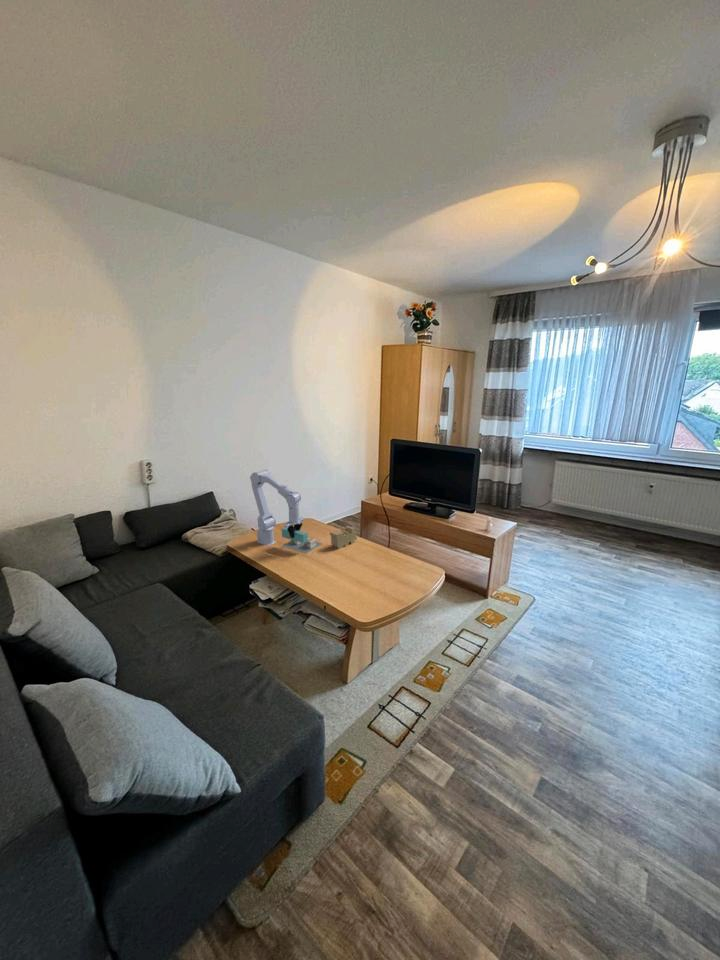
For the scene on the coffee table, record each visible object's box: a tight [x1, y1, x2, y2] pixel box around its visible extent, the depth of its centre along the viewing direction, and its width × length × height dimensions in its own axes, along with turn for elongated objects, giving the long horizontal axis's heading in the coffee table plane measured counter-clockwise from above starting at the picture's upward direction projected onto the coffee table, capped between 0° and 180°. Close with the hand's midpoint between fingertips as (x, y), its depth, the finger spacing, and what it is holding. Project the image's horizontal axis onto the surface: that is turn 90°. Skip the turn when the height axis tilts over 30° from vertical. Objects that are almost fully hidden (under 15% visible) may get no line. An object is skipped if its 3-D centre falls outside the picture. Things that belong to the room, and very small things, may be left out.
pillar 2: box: [304, 537, 317, 549], centre depth 223 cm, size 5×5×4 cm
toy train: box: [329, 525, 358, 549], centre depth 226 cm, size 6×17×10 cm, turn 136°
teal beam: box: [281, 527, 309, 543], centre depth 218 cm, size 16×4×5 cm, turn 59°
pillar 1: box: [290, 539, 301, 545], centre depth 228 cm, size 5×5×4 cm
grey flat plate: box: [282, 541, 323, 554], centre depth 226 cm, size 18×16×1 cm
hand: (294, 536), depth 218 cm, fingers closed on teal beam, 4 cm apart
